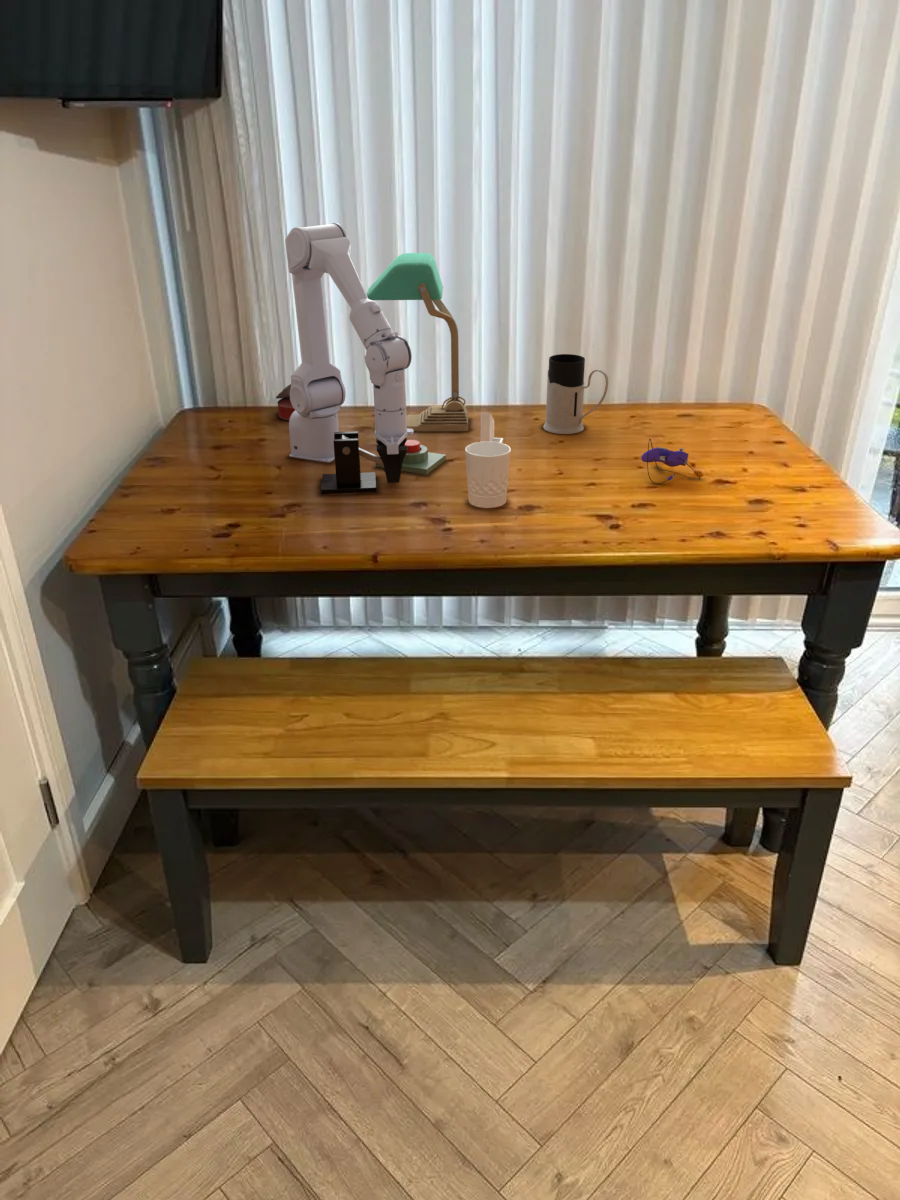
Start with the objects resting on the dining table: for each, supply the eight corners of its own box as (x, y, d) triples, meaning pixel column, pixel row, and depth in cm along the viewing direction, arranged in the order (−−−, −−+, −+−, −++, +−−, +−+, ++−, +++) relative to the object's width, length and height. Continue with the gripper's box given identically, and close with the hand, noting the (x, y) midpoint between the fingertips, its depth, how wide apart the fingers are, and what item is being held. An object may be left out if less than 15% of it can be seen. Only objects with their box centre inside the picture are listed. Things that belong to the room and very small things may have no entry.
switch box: (375, 468, 185) (375, 452, 183) (396, 454, 192) (396, 438, 190) (426, 476, 181) (426, 460, 179) (446, 461, 188) (446, 445, 186)
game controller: (667, 442, 185) (706, 446, 177) (660, 484, 186) (698, 490, 178) (630, 435, 180) (668, 439, 171) (623, 478, 181) (660, 484, 173)
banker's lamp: (468, 436, 201) (468, 263, 184) (370, 437, 201) (361, 264, 185) (468, 414, 215) (467, 251, 198) (376, 414, 215) (368, 252, 199)
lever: (394, 473, 177) (401, 459, 176) (395, 479, 175) (402, 465, 174) (336, 446, 174) (343, 432, 173) (335, 452, 171) (342, 437, 170)
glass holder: (556, 419, 211) (559, 351, 204) (613, 430, 204) (618, 360, 197) (535, 429, 205) (538, 359, 198) (594, 441, 198) (598, 369, 190)
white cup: (514, 496, 171) (516, 443, 166) (502, 513, 165) (503, 458, 160) (473, 491, 173) (473, 439, 169) (459, 507, 167) (459, 453, 162)
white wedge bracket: (476, 457, 182) (480, 412, 183) (483, 466, 192) (487, 423, 192) (495, 458, 182) (499, 413, 182) (501, 467, 192) (505, 424, 192)
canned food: (284, 439, 215) (259, 401, 211) (297, 420, 223) (273, 384, 219) (324, 419, 210) (300, 380, 206) (336, 401, 219) (313, 363, 214)
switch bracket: (375, 478, 180) (373, 428, 175) (376, 493, 173) (373, 442, 168) (322, 480, 179) (318, 430, 175) (321, 496, 172) (317, 444, 168)
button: (398, 452, 184) (398, 444, 183) (406, 447, 187) (406, 438, 186) (415, 455, 183) (414, 446, 182) (423, 449, 186) (422, 441, 185)
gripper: (414, 418, 164) (416, 492, 170) (410, 395, 176) (412, 464, 183) (373, 420, 163) (377, 493, 170) (372, 396, 176) (376, 465, 182)
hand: (393, 478), depth 176 cm, fingers closed on lever, 3 cm apart
